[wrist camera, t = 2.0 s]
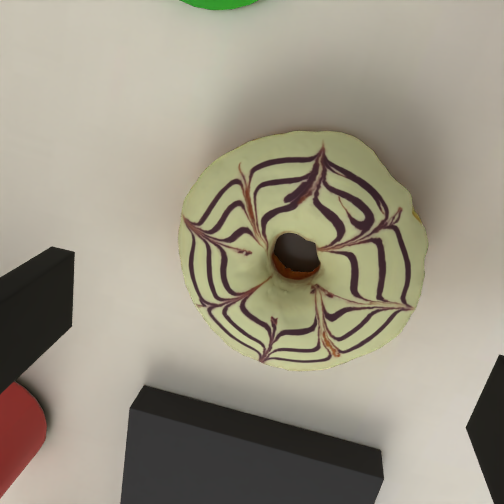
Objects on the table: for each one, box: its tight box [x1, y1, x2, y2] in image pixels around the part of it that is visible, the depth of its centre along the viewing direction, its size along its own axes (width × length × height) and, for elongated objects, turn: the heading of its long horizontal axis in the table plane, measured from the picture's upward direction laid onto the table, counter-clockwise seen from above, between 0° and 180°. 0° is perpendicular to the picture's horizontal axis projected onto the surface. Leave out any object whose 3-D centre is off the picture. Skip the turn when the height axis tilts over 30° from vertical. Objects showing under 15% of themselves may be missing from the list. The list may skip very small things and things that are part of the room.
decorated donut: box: [178, 131, 428, 371], centre depth 20 cm, size 10×11×4 cm
